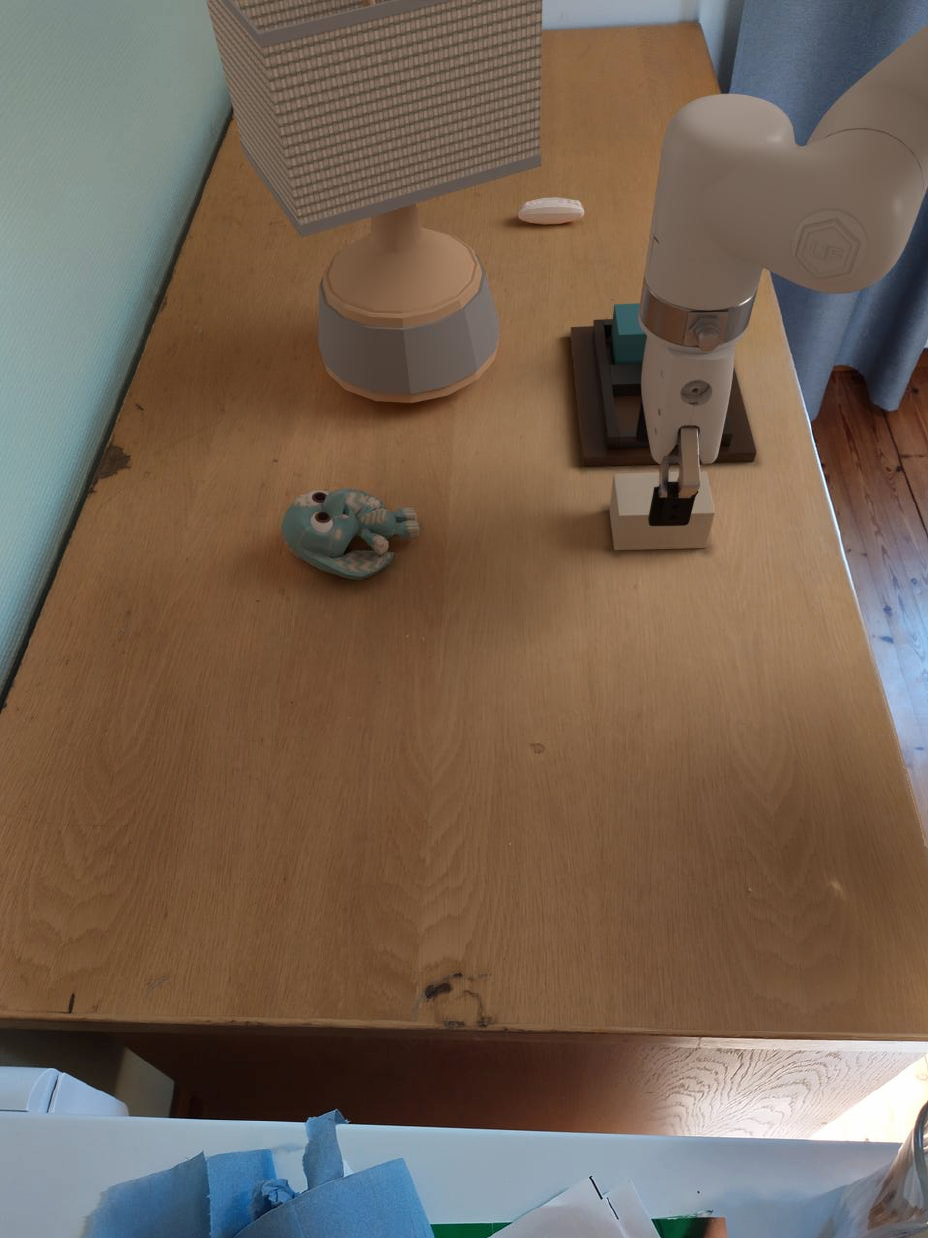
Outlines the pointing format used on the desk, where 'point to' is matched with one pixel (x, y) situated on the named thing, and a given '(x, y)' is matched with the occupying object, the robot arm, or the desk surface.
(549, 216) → the white soap bar
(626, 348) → the teal pad
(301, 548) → the stuffed animal
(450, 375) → the desk lamp
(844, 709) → the desk surface
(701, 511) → the cream pad
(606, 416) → the back plate
